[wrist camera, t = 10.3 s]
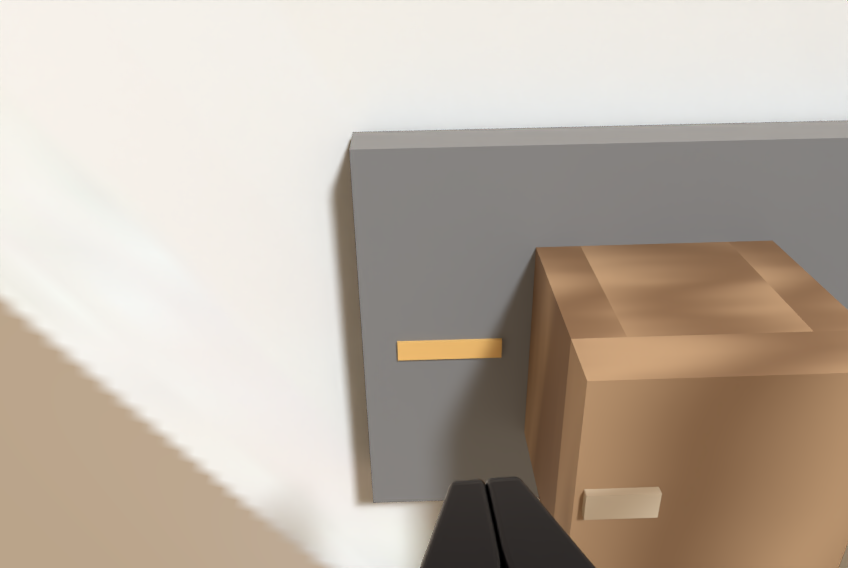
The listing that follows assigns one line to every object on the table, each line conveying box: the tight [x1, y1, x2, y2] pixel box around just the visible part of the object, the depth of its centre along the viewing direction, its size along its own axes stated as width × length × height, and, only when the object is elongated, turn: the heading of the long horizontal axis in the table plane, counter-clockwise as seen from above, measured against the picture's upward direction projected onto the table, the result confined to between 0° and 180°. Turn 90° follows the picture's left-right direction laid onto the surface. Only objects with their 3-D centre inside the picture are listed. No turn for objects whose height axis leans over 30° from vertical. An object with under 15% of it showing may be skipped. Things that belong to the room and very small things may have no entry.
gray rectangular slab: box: [349, 121, 848, 503], centre depth 21 cm, size 16×12×2 cm
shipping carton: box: [524, 240, 848, 568], centre depth 18 cm, size 6×6×6 cm
